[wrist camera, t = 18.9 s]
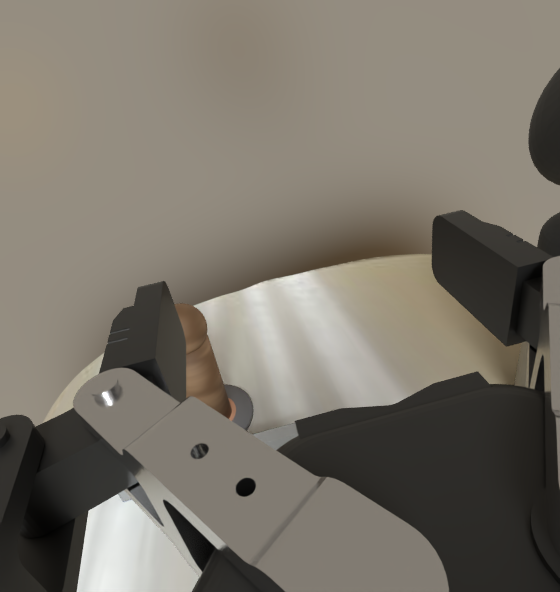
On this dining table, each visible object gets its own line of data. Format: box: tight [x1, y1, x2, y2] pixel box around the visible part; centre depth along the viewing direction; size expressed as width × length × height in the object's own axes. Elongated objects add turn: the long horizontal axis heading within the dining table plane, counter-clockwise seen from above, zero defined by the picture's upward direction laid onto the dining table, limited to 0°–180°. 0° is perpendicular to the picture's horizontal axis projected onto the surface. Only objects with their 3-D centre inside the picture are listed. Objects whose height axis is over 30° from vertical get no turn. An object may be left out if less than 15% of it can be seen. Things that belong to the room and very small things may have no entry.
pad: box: [224, 385, 253, 430], centre depth 52 cm, size 10×10×1 cm
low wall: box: [118, 423, 298, 502], centre depth 45 cm, size 20×2×3 cm, turn 100°
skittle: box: [174, 303, 232, 419], centre depth 47 cm, size 5×5×16 cm
